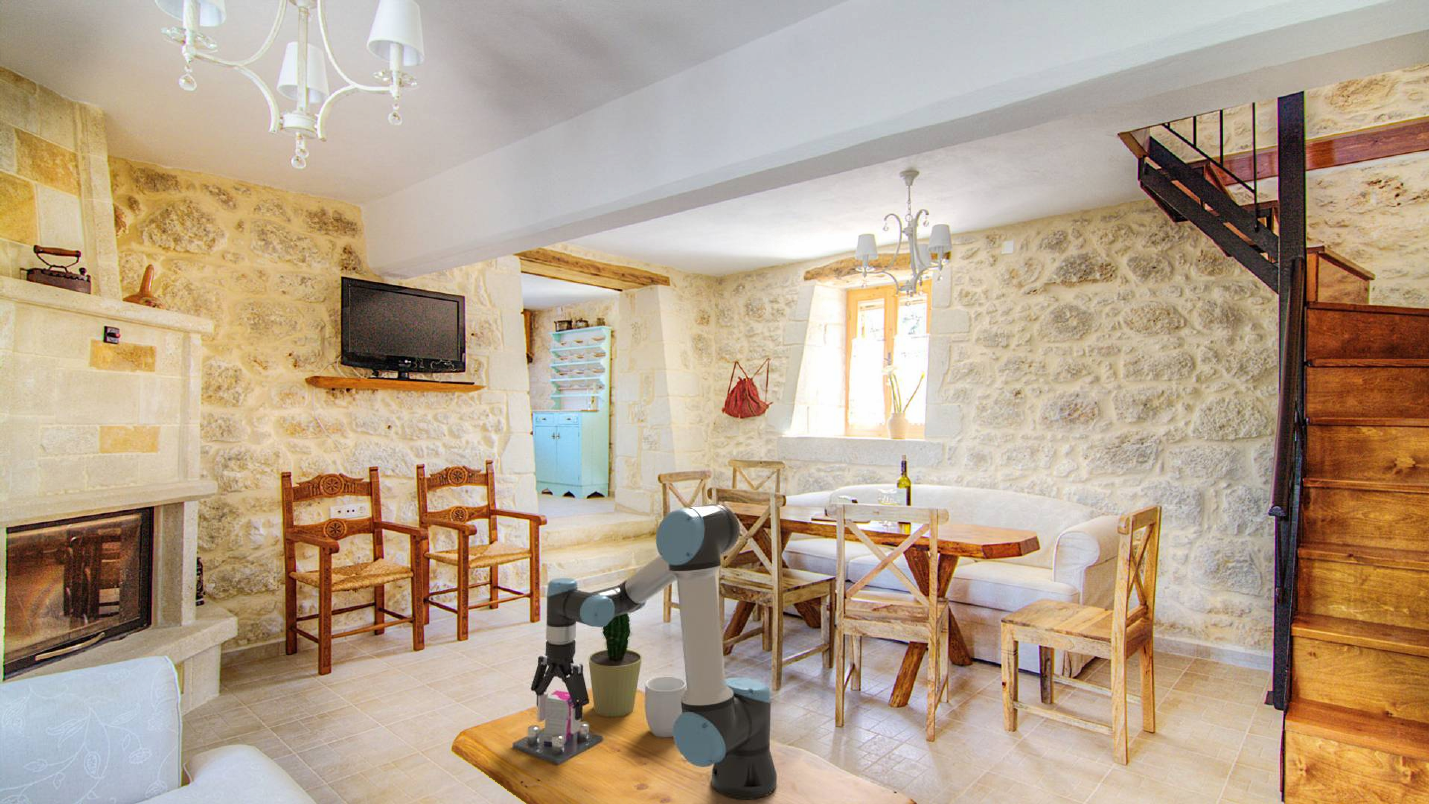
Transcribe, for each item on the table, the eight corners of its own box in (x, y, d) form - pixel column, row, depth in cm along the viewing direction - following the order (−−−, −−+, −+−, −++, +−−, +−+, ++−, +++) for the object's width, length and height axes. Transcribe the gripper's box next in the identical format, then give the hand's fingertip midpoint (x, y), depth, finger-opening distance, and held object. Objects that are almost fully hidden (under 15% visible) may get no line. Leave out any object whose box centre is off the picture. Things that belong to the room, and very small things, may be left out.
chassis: (602, 740, 183) (603, 723, 183) (557, 765, 169) (558, 746, 170) (558, 725, 192) (558, 708, 192) (512, 747, 178) (512, 729, 178)
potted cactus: (595, 696, 212) (597, 596, 212) (645, 699, 210) (647, 598, 211) (580, 718, 196) (582, 610, 197) (634, 721, 195) (636, 612, 195)
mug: (695, 721, 196) (696, 674, 196) (703, 738, 185) (704, 688, 185) (641, 725, 192) (642, 677, 193) (646, 743, 182) (647, 692, 182)
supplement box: (564, 746, 177) (566, 700, 177) (543, 743, 178) (544, 698, 179) (574, 736, 183) (575, 692, 183) (553, 733, 184) (554, 689, 184)
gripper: (605, 644, 178) (602, 732, 177) (539, 628, 191) (537, 709, 190) (584, 652, 172) (582, 743, 171) (518, 635, 185) (515, 719, 184)
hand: (558, 725), depth 181 cm, fingers open, 11 cm apart
